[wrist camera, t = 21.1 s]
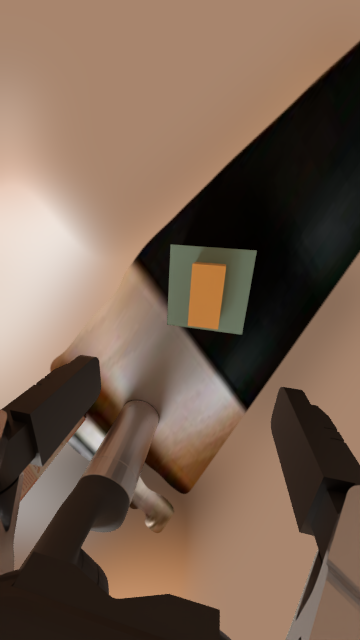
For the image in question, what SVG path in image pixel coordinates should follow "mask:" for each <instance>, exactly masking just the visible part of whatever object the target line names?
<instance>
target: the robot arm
mask: <svg viewBox="0 0 360 640" xmlns="http://www.w3.org/2000/svg"><path fill="white" fill-rule="evenodd" d="M100 390H101V379H100V366H99V360H98V358H97V357H91V356H84V355H80V356H78V357H77V358H75V359H74V360H73V361H71V362H70V363H69V364H66V365H64V366H61V367H59V368H57V369H55V370H53V371H52V372H51V373H49V374H48V375H47V376H45V378H43V379H41V380H40V381H39V382H37V384H36V385H33V386H32V387H31V388H29V389H28V390H27V391H25V392H24V393H23V394H21V395H20V396H19V397H17V398H16V399H15V400H13V401H12V402H11V403H9V404H8V405H7V406H6V407H4V408H3V409H1V410H0V640H231V639H230V638H229V637H228V636H227V635H225V634H224V633H223V632H222V631H220V629H219V626H220V624H219V623H220V620H219V619H220V611H219V610H218V609H215V608H212V607H209V606H206V605H203V604H199V603H196V602H193V601H190V600H186V599H183V598H180V597H177V596H174V595H170V594H165V595H154V596H145V597H134V598H124V599H115V598H112V597H111V596H110V595H109V588H108V580H107V577H106V575H105V573H104V571H103V570H102V569H101V567H100V566H99V565H98V564H96V562H94V560H93V559H92V558H91V557H90V556H89V555H87V554H86V553H85V552H84V551H83V550H82V549H81V546H82V544H83V542H84V540H85V538H86V537H87V535H88V533H89V531H90V530H91V531H96V532H110V531H114V530H116V529H118V528H119V527H120V526H121V525H122V523H123V521H124V519H125V517H126V514H127V511H128V508H129V505H130V502H131V500H132V497H133V494H134V491H135V488H136V485H137V482H138V479H139V476H140V473H141V471H142V468H143V465H144V462H145V459H146V456H147V453H148V451H149V448H150V445H151V442H152V439H153V436H154V433H155V431H156V428H157V425H158V422H159V417H158V414H157V412H156V410H155V409H154V408H153V407H152V406H151V405H149V404H148V403H146V402H143V401H138V400H135V401H130V402H128V403H126V404H125V405H124V407H123V408H122V410H121V412H120V413H119V415H118V417H117V418H116V420H115V421H114V423H113V425H112V427H111V428H110V430H109V432H108V433H107V435H106V437H105V438H104V440H103V442H102V443H101V445H100V447H99V448H98V450H97V452H96V453H95V455H94V457H93V458H92V460H91V462H90V463H89V465H88V467H87V468H86V470H85V472H84V474H83V475H82V477H81V478H80V480H79V482H78V483H77V485H76V487H75V488H74V490H73V491H72V492H71V494H70V495H69V496H68V497H67V499H66V500H65V501H64V503H63V504H62V505H61V507H60V508H59V510H58V511H57V513H56V514H55V516H54V518H53V519H52V521H51V522H50V524H49V525H48V527H47V528H46V530H45V531H44V533H43V534H42V536H41V537H40V539H39V541H38V542H37V543H36V545H35V546H34V548H33V549H32V551H31V552H30V554H29V555H28V557H27V558H26V560H25V561H24V563H23V564H22V566H21V567H20V569H19V570H15V571H14V550H13V549H14V548H13V544H14V543H13V542H14V533H15V527H16V521H17V515H18V509H19V503H20V497H21V491H22V485H23V479H24V474H23V471H24V469H25V468H26V467H27V466H28V465H29V464H32V465H36V466H41V467H43V466H44V464H45V463H46V462H47V461H48V459H49V458H50V457H51V456H52V454H53V453H54V452H55V451H56V449H57V448H58V447H59V446H60V444H61V443H62V442H63V441H64V439H65V438H66V437H67V436H68V434H69V433H70V432H71V431H72V429H73V428H74V427H75V426H76V424H77V423H78V422H79V421H80V419H81V418H82V417H83V416H84V414H85V413H86V412H87V411H88V409H89V408H90V407H91V406H92V404H93V403H94V402H95V401H96V399H97V398H98V396H99V394H100ZM271 430H272V435H273V438H274V442H275V445H276V449H277V453H278V456H279V459H280V463H281V467H282V471H283V474H284V477H285V482H286V485H287V489H288V492H289V496H290V500H291V503H292V507H293V510H294V514H295V518H296V521H297V525H298V528H299V532H301V533H305V534H309V535H313V536H315V539H316V543H317V546H318V551H317V553H316V555H315V558H314V561H313V564H312V567H311V570H310V573H309V575H308V578H307V581H306V584H305V587H304V590H303V593H302V596H301V598H300V601H299V604H298V607H297V610H296V613H295V616H294V619H293V622H292V624H291V627H290V630H289V632H288V635H287V637H286V639H285V640H360V465H359V463H358V462H357V460H356V458H355V457H354V455H353V454H352V452H351V451H350V449H349V448H348V446H347V444H346V443H344V440H343V438H342V436H341V435H340V433H339V432H337V429H336V427H335V425H334V424H333V422H332V421H331V419H330V418H329V416H328V415H326V414H325V413H324V412H323V411H322V410H321V409H320V408H319V407H318V406H316V405H311V404H310V402H309V400H308V399H307V397H306V395H305V393H304V392H303V391H302V390H298V389H292V388H285V387H281V388H280V389H279V392H278V395H277V399H276V403H275V406H274V410H273V414H272V418H271Z"/></svg>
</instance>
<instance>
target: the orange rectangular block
mask: <svg viewBox="0 0 360 640" xmlns="http://www.w3.org/2000/svg"><path fill="white" fill-rule="evenodd" d="M225 272H226V264H216V263H203V262H195V263H193V264H192V275H191V288H190V302H189V315H188V326H194V327H201V328H209V329H217V330H218V326H219V319H220V311H221V303H222V295H223V288H224V280H225Z"/></svg>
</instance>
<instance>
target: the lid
mask: <svg viewBox="0 0 360 640" xmlns="http://www.w3.org/2000/svg"><path fill="white" fill-rule="evenodd" d="M256 253H257V250H243V249H228V248H214V247H199V246H185V245H171V249H170V271H169V293H168V315H167V325H174V326H182V327H189V328H197V329H204V330H211V331H219V332H226V333H234V334H241V335H242V331H243V325H244V320H245V314H246V309H247V303H248V297H249V292H250V286H251V281H252V275H253V269H254V264H255V258H256ZM195 262H203V263H216V264H226V272H225V280H224V288H223V295H222V303H221V311H220V319H219V326H218V330H217V329H209V328H201V327H194V326H188V315H189V302H190V288H191V275H192V264H193V263H195Z"/></svg>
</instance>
